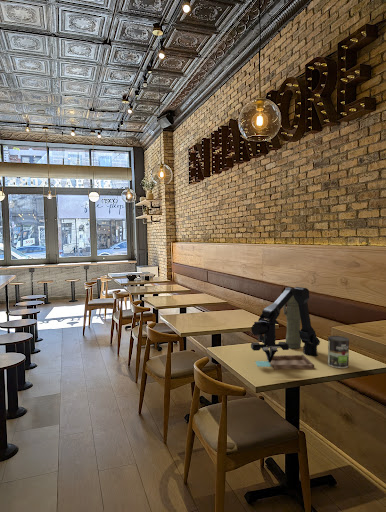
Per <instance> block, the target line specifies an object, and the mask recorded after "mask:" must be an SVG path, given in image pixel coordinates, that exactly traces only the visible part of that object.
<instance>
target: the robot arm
mask: <svg viewBox="0 0 386 512" xmlns="http://www.w3.org/2000/svg"><path fill="white" fill-rule="evenodd" d="M292 296H294V299H295V300H296V301H297V303H298V306H299V312H300V318H301V320H300V325H301V327H300V331H299V334H300V338H301V344H304V345H303V347H302V348H303V355H306V356H312V357H317V356H319V354H318V346H319V345H320V344H321V340H320V339H319V338H318V337H317V334H316V330H315V329H314V328H313V327H312V322H311V318H310V310H309V307H308V306H309V305H308V301H309V300H310V291H309V289H308V288H306V287H303V286H301V287H300V286H295V287H291V286H290V287H289V286H287V287H286V288H285V289H284V290H283V292H282V293H281V294H280V295H279V296H278V297H277V299H276V300H275V301H274V302H273V303H271V304H270V305H269V304H268V305H267V306H266V307H265V308H263V309H262V312H261V314H260V316H259V318H258V320H257V321H254V323H253V324H252V326H251V332H252V334H253V336H258V341H259V342H258V341H256V342H255V341H254V342H251V343H250V348H251V350H252V351H260V350H262V351H263V352H264V353H265V355H266V360H267V359H268V360H267V361H268V362H269V363H271V360H272V358H273V356H275V354H276V353H277V352H279V350H278V349H282V350H283V351H288V350H289V349H290V348H289V345H288V344H287V343H286V341H279V342H278V343H276V338H277V336H276V325H277V324H279V321H278V320H277V319H278V318H279V316H280V314H281V311H282V308H284V305H285V304H286V305H287V304H288V301H289V299H290V298H291V297H292ZM260 342H261V343H260Z"/></svg>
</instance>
